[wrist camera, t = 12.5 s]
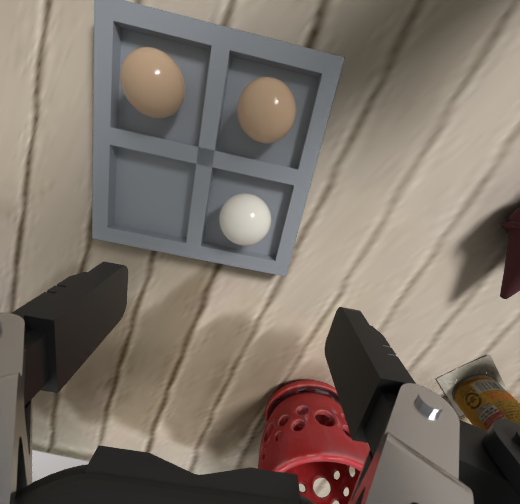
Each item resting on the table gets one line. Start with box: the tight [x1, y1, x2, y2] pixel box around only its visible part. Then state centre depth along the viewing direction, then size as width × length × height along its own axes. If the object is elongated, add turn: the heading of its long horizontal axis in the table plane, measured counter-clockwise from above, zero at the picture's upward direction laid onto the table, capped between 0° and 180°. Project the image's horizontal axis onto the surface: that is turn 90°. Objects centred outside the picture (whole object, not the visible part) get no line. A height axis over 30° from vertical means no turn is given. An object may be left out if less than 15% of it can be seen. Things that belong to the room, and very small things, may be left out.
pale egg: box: [219, 193, 271, 246], centre depth 26 cm, size 5×5×5 cm
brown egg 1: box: [120, 47, 185, 119], centre depth 22 cm, size 5×5×5 cm
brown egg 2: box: [237, 77, 296, 143], centre depth 23 cm, size 5×5×5 cm
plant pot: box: [258, 380, 370, 504], centre depth 33 cm, size 13×13×12 cm
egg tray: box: [92, 0, 345, 276], centre depth 26 cm, size 20×20×2 cm
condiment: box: [437, 355, 520, 431], centre depth 32 cm, size 7×8×12 cm
